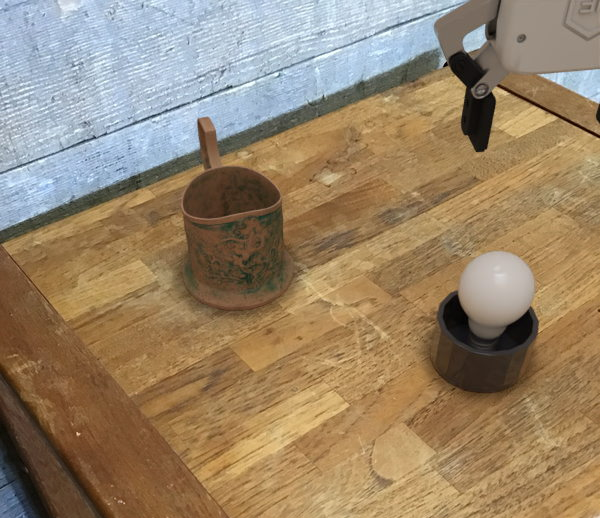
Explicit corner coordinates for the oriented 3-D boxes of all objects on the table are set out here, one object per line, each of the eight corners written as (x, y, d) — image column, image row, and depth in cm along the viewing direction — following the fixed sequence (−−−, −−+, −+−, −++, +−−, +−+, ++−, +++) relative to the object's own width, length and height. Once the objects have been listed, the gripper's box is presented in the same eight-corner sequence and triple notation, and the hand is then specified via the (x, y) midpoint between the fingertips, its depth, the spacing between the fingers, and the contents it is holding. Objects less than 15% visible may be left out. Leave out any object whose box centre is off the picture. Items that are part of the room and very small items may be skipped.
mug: (260, 197, 85) (254, 99, 76) (308, 295, 74) (308, 194, 65) (162, 217, 83) (144, 118, 74) (196, 320, 72) (180, 220, 63)
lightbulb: (457, 320, 71) (477, 227, 63) (522, 340, 69) (551, 247, 61) (435, 363, 68) (454, 271, 59) (503, 386, 66) (532, 294, 57)
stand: (509, 320, 72) (520, 281, 68) (538, 388, 66) (552, 349, 63) (421, 328, 71) (427, 289, 68) (443, 397, 66) (451, 359, 62)
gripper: (475, -124, 36) (434, 177, 49) (810, -148, 37) (682, 154, 50) (439, -167, 41) (410, 118, 54) (737, -188, 42) (637, 98, 55)
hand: (541, 135), depth 52 cm, fingers open, 9 cm apart
